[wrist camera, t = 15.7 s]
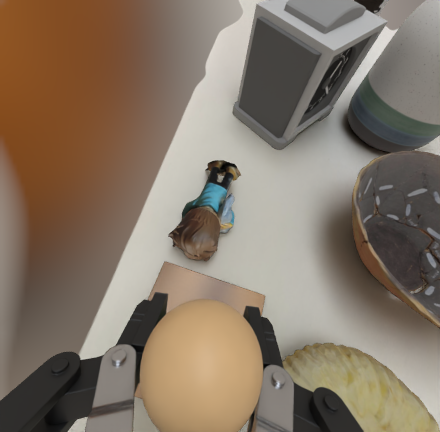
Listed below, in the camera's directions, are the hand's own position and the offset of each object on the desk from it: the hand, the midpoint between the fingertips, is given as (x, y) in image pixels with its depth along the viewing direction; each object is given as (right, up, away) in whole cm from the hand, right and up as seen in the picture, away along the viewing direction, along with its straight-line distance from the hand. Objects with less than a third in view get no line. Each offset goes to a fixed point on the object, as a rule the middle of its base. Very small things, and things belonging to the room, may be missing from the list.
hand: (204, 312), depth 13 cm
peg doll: (-1, -4, +4) cm, 6 cm away
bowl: (+28, -1, +21) cm, 35 cm away
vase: (+34, +24, +34) cm, 54 cm away
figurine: (-1, +6, +21) cm, 22 cm away
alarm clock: (+14, +27, +33) cm, 45 cm away
